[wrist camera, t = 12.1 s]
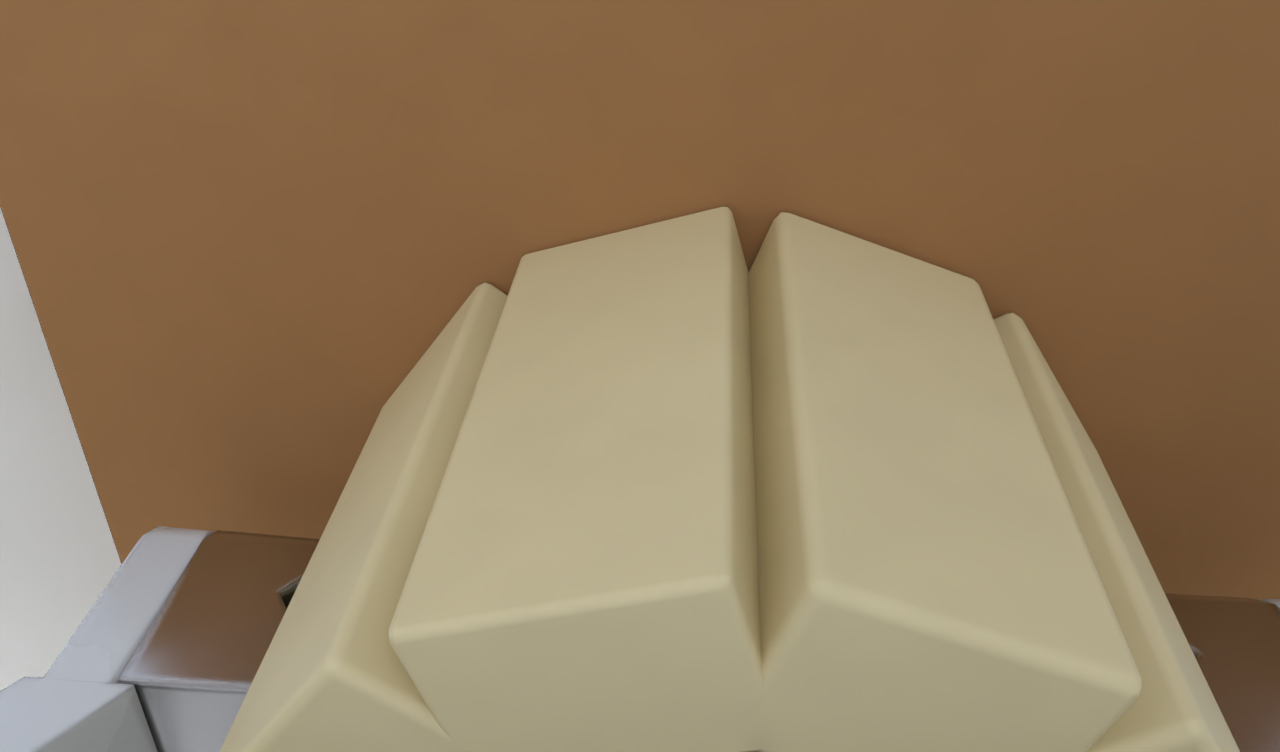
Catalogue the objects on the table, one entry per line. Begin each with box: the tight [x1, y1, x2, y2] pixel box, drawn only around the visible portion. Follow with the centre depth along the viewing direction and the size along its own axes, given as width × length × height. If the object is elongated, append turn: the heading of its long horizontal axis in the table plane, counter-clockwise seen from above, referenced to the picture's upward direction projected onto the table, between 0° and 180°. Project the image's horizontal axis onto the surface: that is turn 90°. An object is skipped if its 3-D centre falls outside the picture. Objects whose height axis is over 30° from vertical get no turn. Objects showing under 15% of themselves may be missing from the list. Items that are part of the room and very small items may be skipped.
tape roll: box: [219, 207, 1240, 752], centre depth 8 cm, size 6×7×4 cm
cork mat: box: [0, 0, 1280, 600], centre depth 10 cm, size 12×12×1 cm
